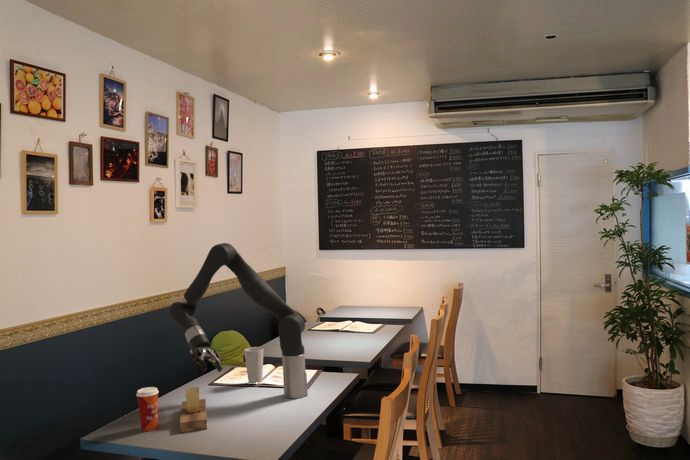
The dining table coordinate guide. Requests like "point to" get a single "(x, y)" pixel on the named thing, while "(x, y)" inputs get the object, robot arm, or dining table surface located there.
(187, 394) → the tan boxy piece
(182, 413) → the brown flat wooden block
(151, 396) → the paper cup
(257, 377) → the cup
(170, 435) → the dining table surface
